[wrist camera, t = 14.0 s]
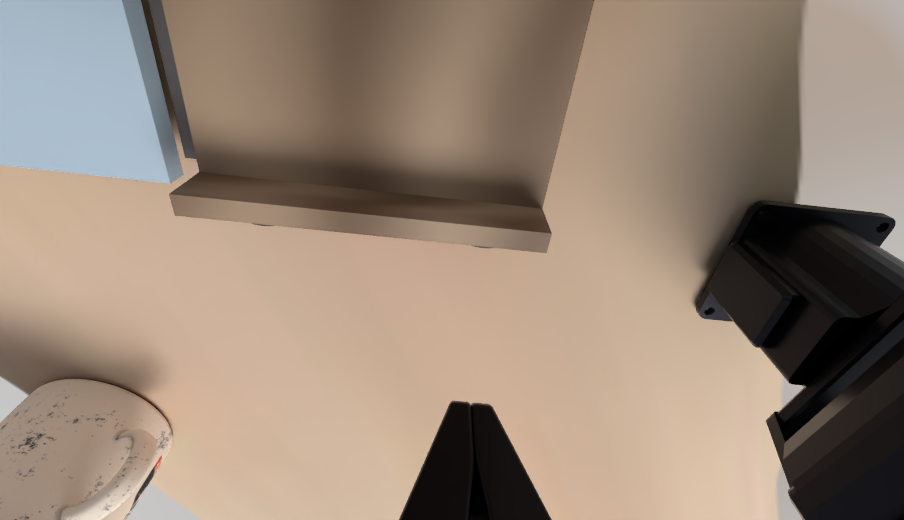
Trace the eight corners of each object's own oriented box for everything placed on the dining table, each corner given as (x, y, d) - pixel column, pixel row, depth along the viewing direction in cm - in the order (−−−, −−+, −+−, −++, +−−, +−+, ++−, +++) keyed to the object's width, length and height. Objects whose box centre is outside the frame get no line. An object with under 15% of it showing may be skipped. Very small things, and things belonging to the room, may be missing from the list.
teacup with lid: (113, 472, 31) (-44, 694, 22) (-4, 397, 27) (-269, 634, 17) (241, 431, 28) (128, 665, 19) (134, 339, 24) (-89, 582, 14)
